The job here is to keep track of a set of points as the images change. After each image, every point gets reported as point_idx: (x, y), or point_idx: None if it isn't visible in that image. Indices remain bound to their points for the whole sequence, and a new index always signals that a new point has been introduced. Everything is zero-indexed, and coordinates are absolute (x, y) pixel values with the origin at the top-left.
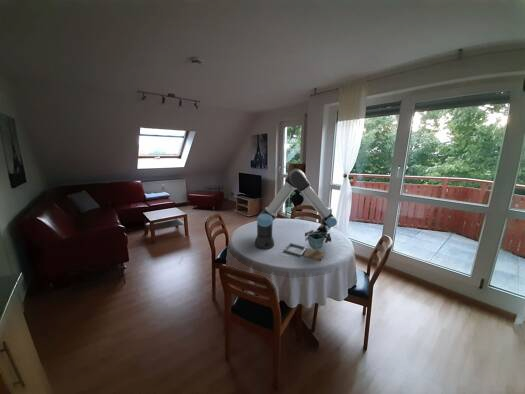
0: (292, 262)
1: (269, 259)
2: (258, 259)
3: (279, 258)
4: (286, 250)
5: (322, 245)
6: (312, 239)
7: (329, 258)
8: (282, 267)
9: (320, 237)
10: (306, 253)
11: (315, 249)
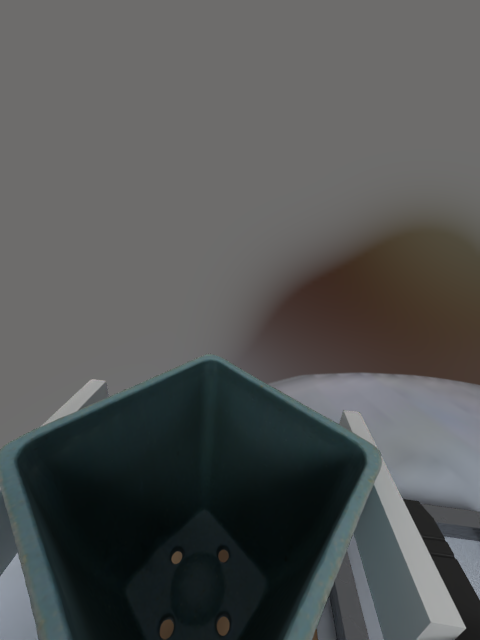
0: None
1: (424, 403)
2: (454, 390)
3: (401, 426)
4: (468, 516)
5: (89, 539)
6: (250, 393)
7: (19, 613)
8: (328, 375)
9: (75, 616)
10: None
11: (198, 502)
